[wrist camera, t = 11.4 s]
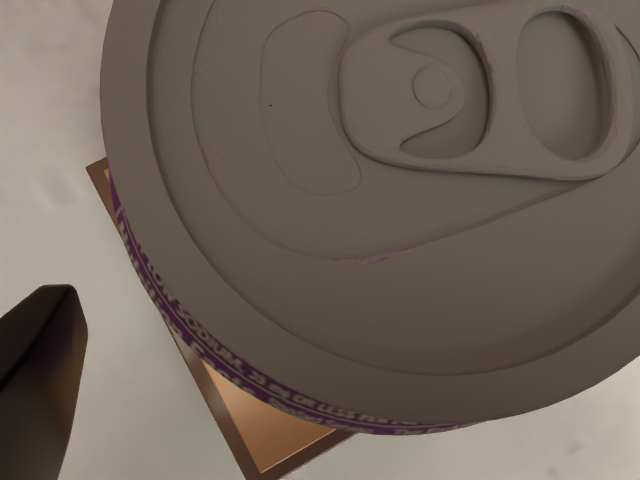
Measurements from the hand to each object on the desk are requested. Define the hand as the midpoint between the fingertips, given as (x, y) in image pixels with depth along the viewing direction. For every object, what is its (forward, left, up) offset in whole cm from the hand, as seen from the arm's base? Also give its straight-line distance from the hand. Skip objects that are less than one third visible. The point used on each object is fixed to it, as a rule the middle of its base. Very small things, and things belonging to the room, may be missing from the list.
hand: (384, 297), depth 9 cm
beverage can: (+2, -1, -9) cm, 9 cm away
